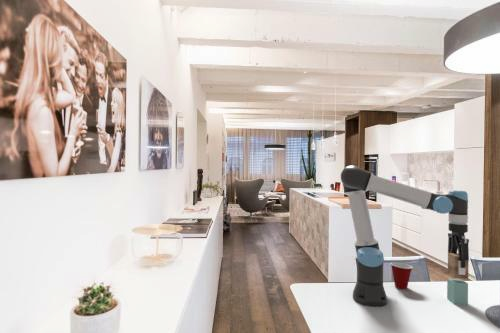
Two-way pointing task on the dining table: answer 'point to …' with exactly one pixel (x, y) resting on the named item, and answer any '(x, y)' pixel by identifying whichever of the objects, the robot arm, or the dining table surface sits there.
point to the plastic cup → (401, 274)
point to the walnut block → (456, 266)
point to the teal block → (457, 291)
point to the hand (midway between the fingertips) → (457, 272)
